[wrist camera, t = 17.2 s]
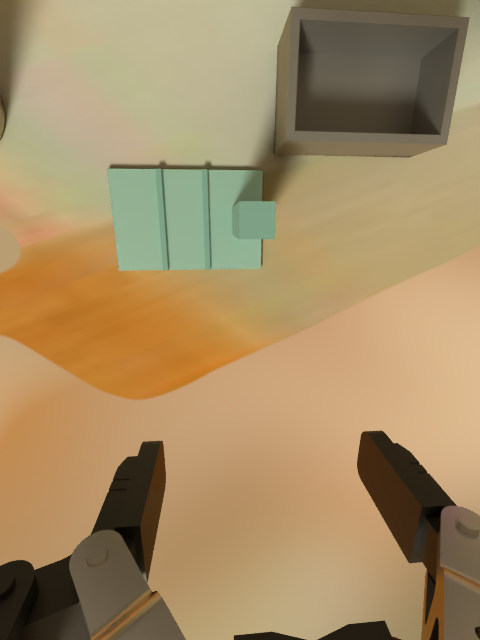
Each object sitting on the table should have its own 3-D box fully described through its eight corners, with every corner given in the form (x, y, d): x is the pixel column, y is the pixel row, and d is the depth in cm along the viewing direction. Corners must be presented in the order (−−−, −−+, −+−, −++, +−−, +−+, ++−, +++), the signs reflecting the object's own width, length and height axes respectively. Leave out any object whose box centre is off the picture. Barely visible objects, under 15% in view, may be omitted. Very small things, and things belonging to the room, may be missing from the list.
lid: (120, 269, 37) (80, 288, 26) (109, 169, 34) (57, 142, 23) (259, 267, 39) (278, 285, 27) (261, 171, 35) (283, 146, 24)
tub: (274, 154, 35) (285, 140, 29) (277, 46, 32) (291, 6, 26) (409, 157, 36) (446, 144, 30) (425, 53, 33) (469, 17, 27)
